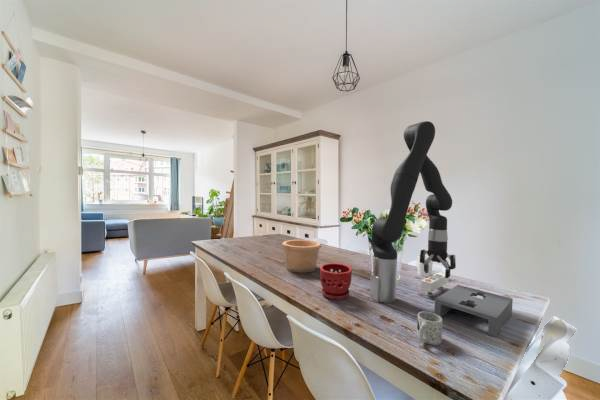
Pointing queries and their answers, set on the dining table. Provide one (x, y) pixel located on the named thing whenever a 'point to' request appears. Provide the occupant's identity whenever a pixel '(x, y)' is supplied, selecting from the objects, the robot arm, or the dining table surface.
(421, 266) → the white cup
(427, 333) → the mug
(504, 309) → the keyhole board
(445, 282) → the power strip
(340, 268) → the plant pot
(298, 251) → the pottery
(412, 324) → the dining table surface
